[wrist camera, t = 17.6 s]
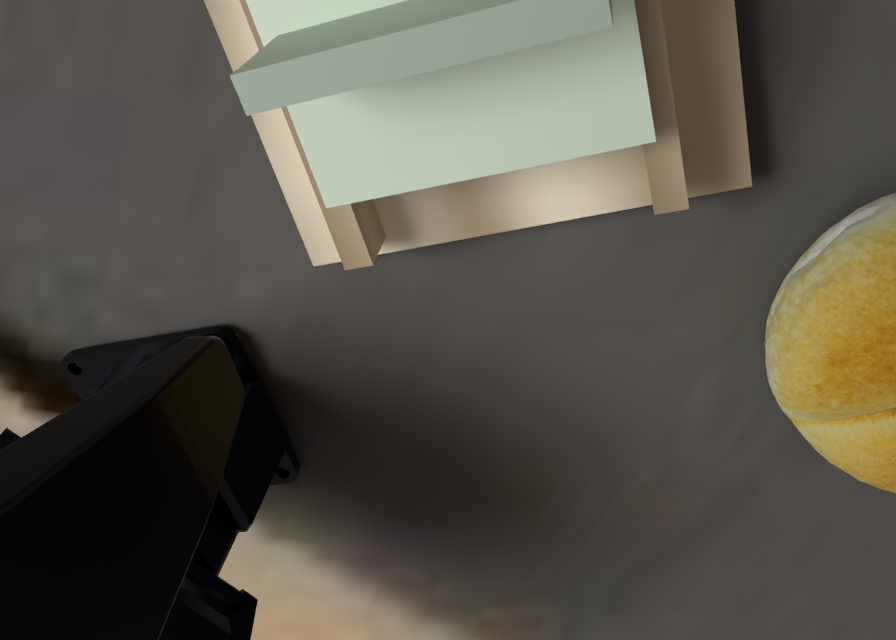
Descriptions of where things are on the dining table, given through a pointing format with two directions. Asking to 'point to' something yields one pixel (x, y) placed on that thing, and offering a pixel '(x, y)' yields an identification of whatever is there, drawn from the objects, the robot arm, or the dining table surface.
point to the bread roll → (842, 344)
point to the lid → (446, 87)
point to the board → (550, 185)
